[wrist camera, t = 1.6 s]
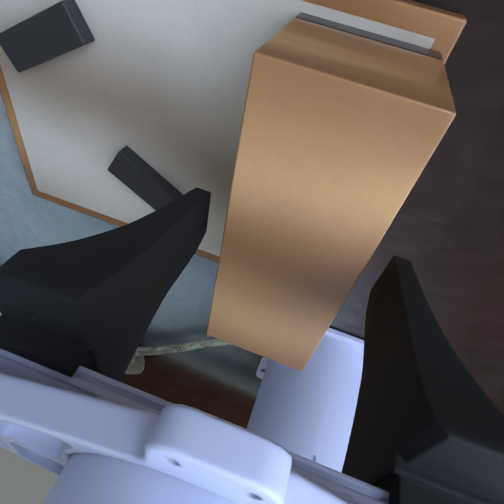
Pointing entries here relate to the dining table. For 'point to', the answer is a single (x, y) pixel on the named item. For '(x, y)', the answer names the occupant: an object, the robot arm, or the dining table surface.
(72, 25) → the dark grey rectangular block
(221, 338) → the eraser
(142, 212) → the whiteboard
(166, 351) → the grey slim stick
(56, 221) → the dining table surface
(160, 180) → the black angular block
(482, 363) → the dining table surface
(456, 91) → the dining table surface
